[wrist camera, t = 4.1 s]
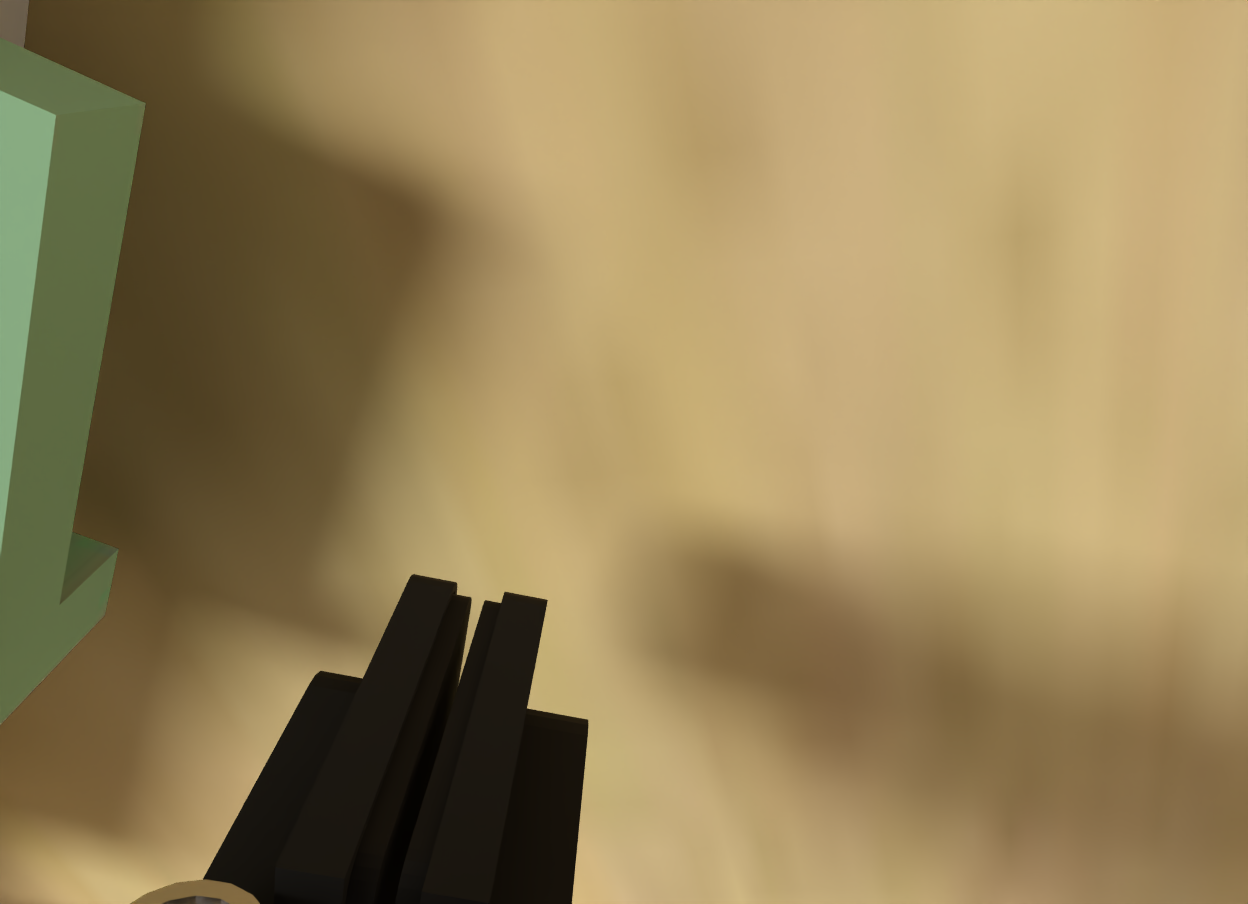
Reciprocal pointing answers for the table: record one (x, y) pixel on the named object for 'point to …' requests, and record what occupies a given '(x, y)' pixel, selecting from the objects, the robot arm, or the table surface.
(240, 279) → the table surface
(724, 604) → the table surface
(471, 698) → the robot arm
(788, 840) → the table surface
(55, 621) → the decorative block
